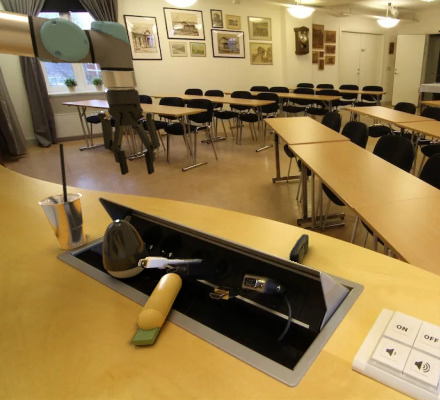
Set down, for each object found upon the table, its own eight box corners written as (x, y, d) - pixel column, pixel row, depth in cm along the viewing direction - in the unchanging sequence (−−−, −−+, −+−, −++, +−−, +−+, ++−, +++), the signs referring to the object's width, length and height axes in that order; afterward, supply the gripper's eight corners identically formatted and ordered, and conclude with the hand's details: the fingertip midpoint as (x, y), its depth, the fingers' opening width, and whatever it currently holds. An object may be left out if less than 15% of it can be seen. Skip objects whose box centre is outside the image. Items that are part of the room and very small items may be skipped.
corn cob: (130, 348, 62) (124, 327, 60) (164, 286, 80) (161, 269, 78) (157, 346, 62) (152, 326, 61) (185, 285, 80) (182, 268, 79)
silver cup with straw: (86, 232, 107) (61, 143, 96) (101, 242, 101) (76, 147, 90) (46, 244, 99) (14, 149, 88) (60, 256, 93) (27, 154, 82)
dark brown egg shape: (157, 261, 91) (147, 212, 85) (139, 283, 81) (126, 229, 76) (121, 261, 90) (109, 212, 85) (98, 283, 81) (82, 229, 75)
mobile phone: (298, 256, 85) (311, 230, 99) (287, 254, 86) (301, 229, 99) (298, 271, 87) (311, 244, 101) (288, 270, 88) (302, 243, 101)
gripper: (164, 88, 89) (177, 169, 97) (90, 88, 87) (109, 170, 95) (154, 89, 82) (169, 176, 90) (73, 89, 80) (95, 177, 88)
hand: (138, 173), depth 92 cm, fingers open, 6 cm apart
